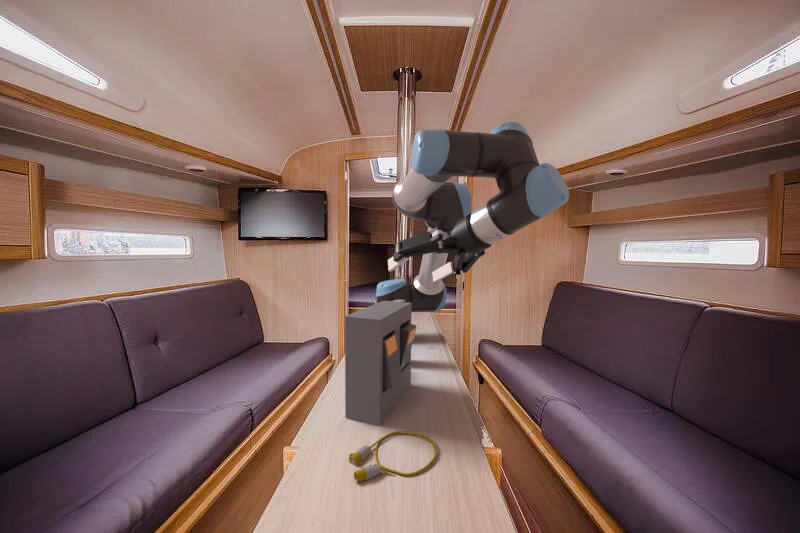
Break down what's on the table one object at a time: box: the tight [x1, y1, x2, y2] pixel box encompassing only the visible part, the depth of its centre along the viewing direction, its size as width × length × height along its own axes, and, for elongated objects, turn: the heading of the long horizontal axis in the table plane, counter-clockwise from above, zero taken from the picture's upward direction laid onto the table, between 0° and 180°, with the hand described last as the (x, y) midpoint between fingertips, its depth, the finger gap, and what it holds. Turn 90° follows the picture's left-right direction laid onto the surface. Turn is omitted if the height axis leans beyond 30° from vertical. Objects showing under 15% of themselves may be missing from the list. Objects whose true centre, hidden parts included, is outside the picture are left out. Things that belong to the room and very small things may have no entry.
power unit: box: [344, 301, 413, 426], centre depth 73 cm, size 20×8×22 cm, turn 159°
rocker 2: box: [400, 323, 417, 369], centre depth 76 cm, size 6×2×10 cm, turn 159°
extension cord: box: [348, 430, 439, 484], centre depth 54 cm, size 12×16×2 cm
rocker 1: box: [383, 333, 402, 389], centre depth 67 cm, size 6×2×10 cm, turn 159°
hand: (412, 271), depth 74 cm, fingers open, 13 cm apart
